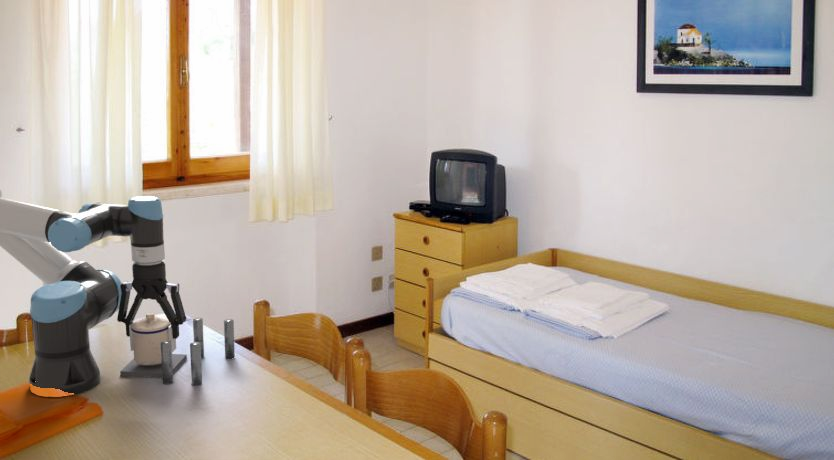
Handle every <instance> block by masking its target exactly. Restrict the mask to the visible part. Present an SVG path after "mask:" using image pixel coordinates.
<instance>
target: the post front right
mask: <svg viewBox="0 0 834 460" xmlns="http://www.w3.org/2000/svg"><path fill="white" fill-rule="evenodd" d="M189 352H190V353H189V354H190V373H191V376H190V377H191V386H194V387H198V386H201V385H202V384H203V369H202V358H201V343H200V342H194V341H193V342H190V343H189Z"/></svg>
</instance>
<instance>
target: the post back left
mask: <svg viewBox="0 0 834 460" xmlns="http://www.w3.org/2000/svg"><path fill="white" fill-rule="evenodd" d="M192 332H193V342H200V343H201V357H202V358H204V357H205V347H204V344H205V343H204V321H203V318H202V317H194V318H193V319H192ZM203 356H204V357H203Z"/></svg>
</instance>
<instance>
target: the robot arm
mask: <svg viewBox="0 0 834 460" xmlns="http://www.w3.org/2000/svg"><path fill="white" fill-rule="evenodd" d="M2 194H3V192H2V189H0V247H1V248H2V249H3V250H4V251H5V252H6V253H8V254H9V255H10V256H11V257H13V258H14V259H15V260H16V261H18V262H19V263H20V264H21V265H22V266H24V267H25V268H26V269H27V270H28V271H29V272H31V273H32V274H33V275H34V276H35V277H36V278H38V279H39V281H41V282H42V283H44V284H45V285H43V286H41V287H39V288H37V289H36V290H35V291H34V292H33V293H32V295H31V297H30V308H29V314H30V316H31V327H32V337H33V346H34V347H33V349H34V360H33V364H32V367H31V371H30V375H29V378H28V384H29V383H30V384H32V385H33V386H36V387H40V388H55V389H60V390H62V391H64V392H68V393H74V394H76V395H79V394H83V393H85V392H88V391H90V390H92V389H94V388H95V387H96V386H98V384H99V383H100V382H101V375H100V374H101V371H100V368H99V366H98V363H97V361H96V360H95V358H94V354H92V351H91V347H90V346H91V345H90V331H89V330H91V329H93V328H94V327H96V326H97V325H99V324H100V323H102V322H104V321H105V320H108V319H109V318H111V317H112V316H114V314H116V313H117V312H118V313H117V318H116V320H117V322H118V323H123V324H124V325H125V334H126V335H125V336H126V337H128V338H129V343H130V344H129V345H130V351H132V352H134V349H133V335H132V330H131V327H132V324H133V323H134V322H135V317H136V315H137V314H138V311H139V309H140V307H141V305H142V302H143V300H148V299H150V300H155V301H156V303H157V304H158V305H159V306H160V308H161V310H162V311H163V313H164V315H165V317H166V320H168V321H169V322H170V326H169V327H168V336H169V341H171V346H172V353H173V352H174V351H175V350H176V349H177V339H178V338H179V337H180V325H183V324H185V322H186V321H187V316H186V313H185V309H184V306H183V302H182V299H181V298H182V297H181V295H180V283H178V282H176V283H170V282H168V281H167V278H166V277H167V272H166V271H167V270H166V261H164V260H165V259H166V253H165V252H166V251H165V241H164V214H163V207H162V201H161V199H160V198H159V197H156V196H152V195H144V196H143V195H141V196H139V195H138V196H134V197H131V198H130V199H128V201H127V202H128V203H127V204H117V203H116V204H114V203H102V202H93V203H92V202H91V203H90V202H89V203H85V204H84V205H82V206H81V208H80V209H79V210H78V212H77V213H75V212H74V213H73V212H67V211H65V210H59V209H55V208H50V207H46V206H41V205H37V204H32V203H27V202H24V201H23V202H22V201H18V200H13V199H11V198H10V199H9V198H4V197H3V195H2ZM111 236H113V237H115V236H116V237H129V239H130V248H131V249H130V250H131V253H130V254H131V261H132V262H133V263H132V264H131V265H132V266H131V269H132V281H128V280H126V281H125V280H124V282H122V281H121V279H120V278H119V277H118V275H116V274H115V273H114V272H112V271H110V270H108V269H96V268H94V266H92V265H91V264H90V263H89V262H87V261H86V260H81V261H80V260H79V261H78V260H77V261H76V260H75V259H74V258H73V257H71V256H70V255H69V254H68V253H71V252H76V251H79V250H81V249H83V248H85V247H87V246H89V245H91V244H93V243H96V242H98V241H100V240H103V239H105V238H107V237H111ZM132 289H133V290H134V291H135V293H136V295H135V297H134V301H133V303H132V305H131V307H130V309H129V311H128V307H129V303H130V302H129V301H130V297H131V291H132ZM166 290H168V293H170V299H171V302H172V305H171V303H170V301H169V300H168V296H167V294H166V292H165V291H166ZM35 381H36V382H35Z"/></svg>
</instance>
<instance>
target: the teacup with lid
mask: <svg viewBox="0 0 834 460" xmlns="http://www.w3.org/2000/svg"><path fill="white" fill-rule="evenodd" d="M133 322H134V323H133V324H132V327H131V330H132V335H133V349H134V351H133V359H134V360H135V362H136V363H138V364H141V365H156V364H161V363H162V361H161V342H162V341H169V336H168V327H169V326H170V325H171V324H170V322H169V321H168V319H167V318H164V317H158V316H155V313H154V312H149V313H145V317H142V318H141V319H139V320H136V321H133Z"/></svg>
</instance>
